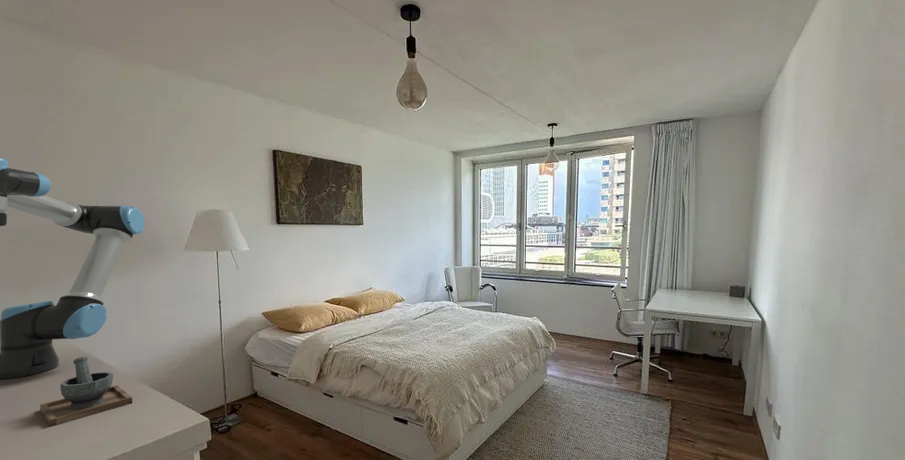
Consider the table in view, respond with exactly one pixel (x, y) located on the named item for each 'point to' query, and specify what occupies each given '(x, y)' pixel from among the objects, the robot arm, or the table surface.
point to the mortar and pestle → (86, 386)
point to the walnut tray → (62, 413)
